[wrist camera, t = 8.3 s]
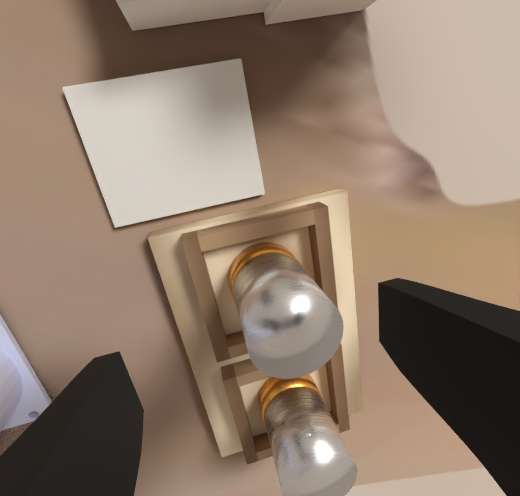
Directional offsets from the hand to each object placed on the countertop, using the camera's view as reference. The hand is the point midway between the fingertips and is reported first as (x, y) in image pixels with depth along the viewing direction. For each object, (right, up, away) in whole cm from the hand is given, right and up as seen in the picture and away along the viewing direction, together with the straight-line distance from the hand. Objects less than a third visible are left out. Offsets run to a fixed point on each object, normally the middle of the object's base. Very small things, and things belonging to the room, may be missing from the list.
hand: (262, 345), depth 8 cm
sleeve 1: (0, +1, +9) cm, 9 cm away
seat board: (+1, -3, +12) cm, 12 cm away
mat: (-4, +8, +7) cm, 11 cm away
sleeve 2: (+2, -7, +13) cm, 15 cm away
